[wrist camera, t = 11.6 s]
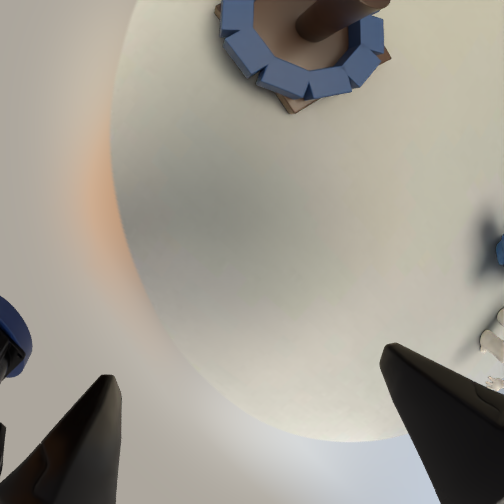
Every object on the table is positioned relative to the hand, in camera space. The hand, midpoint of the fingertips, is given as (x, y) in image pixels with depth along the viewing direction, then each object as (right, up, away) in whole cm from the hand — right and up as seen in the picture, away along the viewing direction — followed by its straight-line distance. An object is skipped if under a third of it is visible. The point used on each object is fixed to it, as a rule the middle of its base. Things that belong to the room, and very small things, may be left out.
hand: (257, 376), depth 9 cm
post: (+3, +17, +6) cm, 19 cm away
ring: (+3, +17, +5) cm, 18 cm away
